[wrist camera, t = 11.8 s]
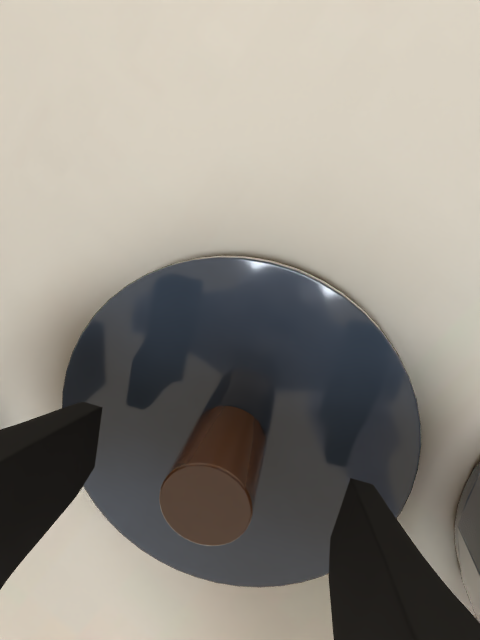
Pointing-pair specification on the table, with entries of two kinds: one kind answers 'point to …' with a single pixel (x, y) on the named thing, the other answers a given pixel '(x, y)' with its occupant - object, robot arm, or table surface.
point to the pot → (470, 538)
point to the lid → (241, 416)
